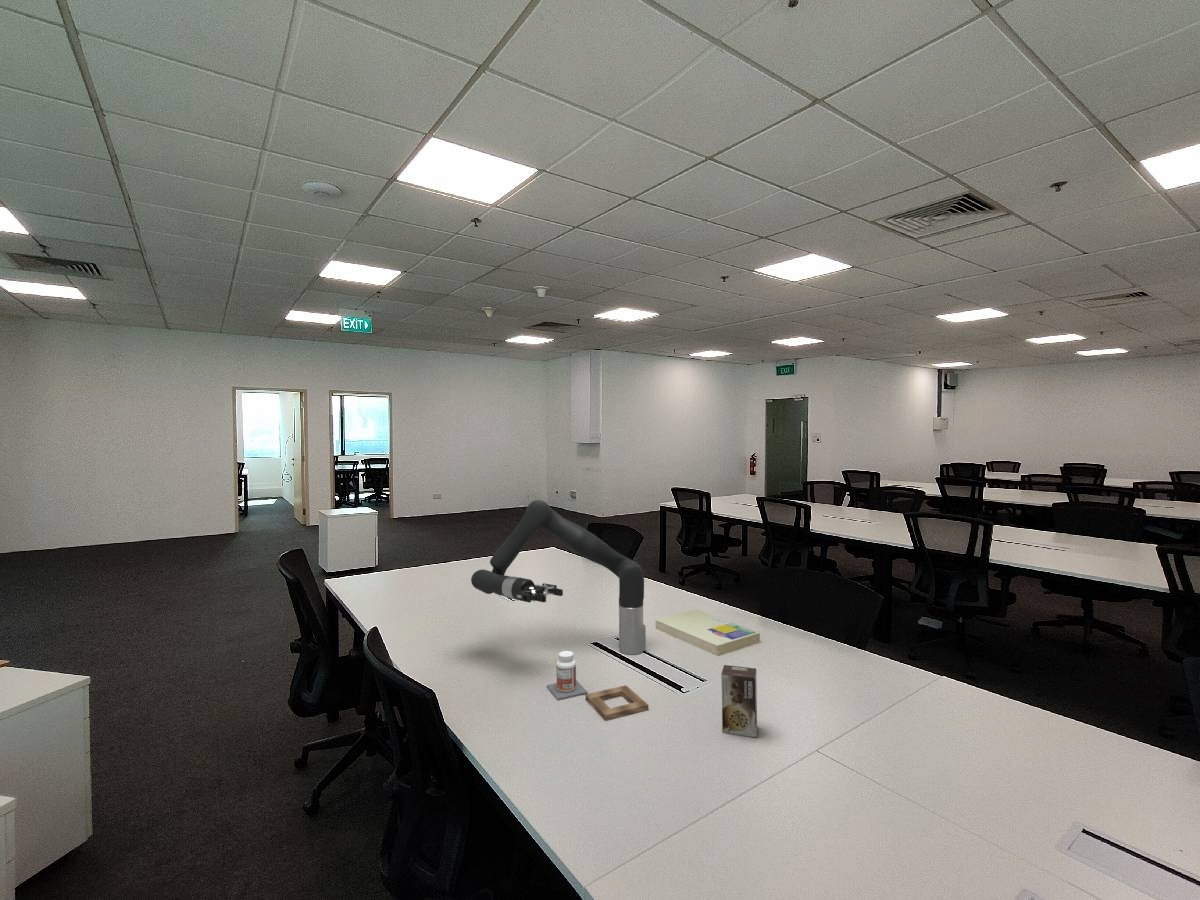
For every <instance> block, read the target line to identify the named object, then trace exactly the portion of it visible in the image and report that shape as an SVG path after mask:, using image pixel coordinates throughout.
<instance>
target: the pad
mask: <svg viewBox="0 0 1200 900" xmlns="http://www.w3.org/2000/svg"><path fill="white" fill-rule="evenodd" d="M546 688H547V689H548V691H549V692H550V693H551V694H552V695H553V697H554V698H555V700H557V701H561V700H565V699H570V698H574V697H575V698H576V697H579V696H583V695H586V694H589V693H588V691H587V689H586V688H584V686H583V685H582V684H581V683H580V682H579V681H578V680H577V679H576V688H575V689H574V690H573V691H571V692H561V691H559V690H558V689H557V682H556V683H555V682H554V683H549V684H546Z"/></svg>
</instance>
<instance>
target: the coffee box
mask: <svg viewBox="0 0 1200 900" xmlns="http://www.w3.org/2000/svg"><path fill="white" fill-rule="evenodd" d="M720 674H721V676H720V677H721V729H722V730H721V732H722V733H724V734H730V735H731V734H732V735H737V736H744V737H750V738H757V736H758V697H757V695H758V691H757V689H758V688H757V686H758V685H757V682H758V681H757V668H755V667H746V666H738V665H737V666H736V665H728V664H724V665H723V667H722V671H721V673H720Z"/></svg>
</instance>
